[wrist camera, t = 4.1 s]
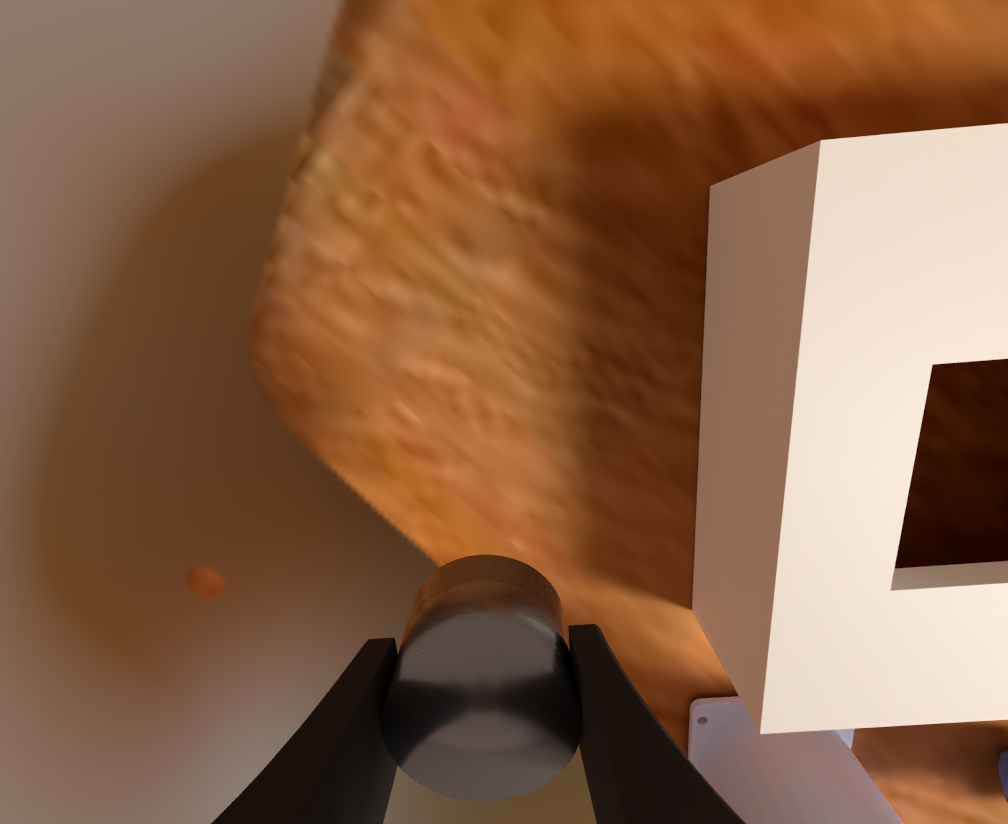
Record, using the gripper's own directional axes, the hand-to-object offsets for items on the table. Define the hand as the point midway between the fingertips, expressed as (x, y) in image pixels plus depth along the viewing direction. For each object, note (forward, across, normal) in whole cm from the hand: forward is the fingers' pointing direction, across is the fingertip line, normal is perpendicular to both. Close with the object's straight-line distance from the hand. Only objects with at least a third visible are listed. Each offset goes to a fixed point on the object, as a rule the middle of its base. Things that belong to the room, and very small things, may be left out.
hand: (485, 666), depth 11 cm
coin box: (+9, -17, -2) cm, 19 cm away
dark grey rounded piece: (+1, 0, 0) cm, 1 cm away
